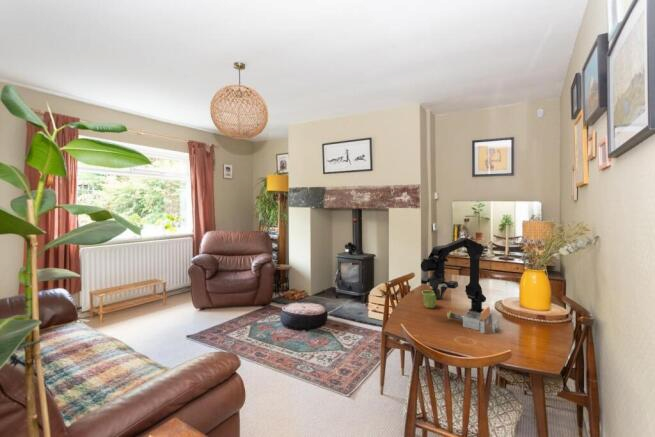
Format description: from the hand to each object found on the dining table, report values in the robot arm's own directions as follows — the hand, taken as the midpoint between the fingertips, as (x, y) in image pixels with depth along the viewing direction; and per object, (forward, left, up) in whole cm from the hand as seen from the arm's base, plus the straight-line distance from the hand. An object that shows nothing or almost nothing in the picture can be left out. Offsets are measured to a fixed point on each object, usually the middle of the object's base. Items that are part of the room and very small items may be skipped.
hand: (439, 297), depth 181 cm
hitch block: (0, +22, -11) cm, 24 cm away
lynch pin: (0, +12, -11) cm, 16 cm away
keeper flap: (0, +25, -4) cm, 25 cm away
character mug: (-32, -16, -11) cm, 37 cm away
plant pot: (-14, -12, -11) cm, 21 cm away
